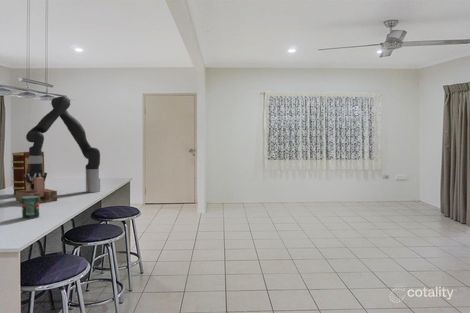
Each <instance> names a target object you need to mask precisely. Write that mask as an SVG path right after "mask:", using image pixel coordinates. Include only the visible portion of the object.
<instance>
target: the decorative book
mask: <svg viewBox="0 0 470 313" xmlns="http://www.w3.org/2000/svg"><path fill="white" fill-rule="evenodd" d="M11 156H12V161H11V162H12V171H13V173H12V174H13V180H12V183H13V187H12V189H13V194H12V197H15V198H16V191H19V190H27V191H29V183H27V181H26V179H25V176H24V174H28V173H29V151H23V152H22V151H21V152H19V151H18V152H11ZM41 156H42V171H43V172H45V153H44V151H42V155H41ZM42 176H43V175H41V177H42ZM29 177H31V176H30V175H29ZM45 182H46V180H45V181H44V189H46V188H45Z"/></svg>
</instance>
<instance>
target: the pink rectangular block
mask: <svg viewBox="0 0 470 313" xmlns="http://www.w3.org/2000/svg"><path fill="white" fill-rule="evenodd" d="M30 178H31V177H29V179H30ZM32 179H33V178H32ZM33 184H34V190H32V189H31V188H30V183H29V191H32V192H37V193H40V197H43V196H44V178H42V177H37V178H34V183H33Z"/></svg>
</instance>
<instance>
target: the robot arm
mask: <svg viewBox="0 0 470 313" xmlns="http://www.w3.org/2000/svg"><path fill="white" fill-rule="evenodd" d="M50 104H51V106H52V109H51V110H50V111H49V112H48V113H47V114H45V115H44V116H43V117H42V118H41V119H40V120H39V122H38V123H37V124H36V125H35V126H34V127H32V128H31V129H30V130H28V132H27V133H26V135H25V139H26V141H27V142H29V143H33V144H32V146H30V147H29V149H28V152H29V173H28V174H24V176H25V179H26V181H27V183H30V188H31V189H32V190H34V184H33V183H34V178H37V177H41V175H43V176H42V178H44V181H45V182H46V178H47V176H48V173H47V172H45V171H44V172H43V171H42V156H41V155H42V152H43V151H42V148H43V145H44V141H45V137H44V136H45V135H44V134H45V133H47V132H48V131H49V130H50V128H51V127H52V125H53V124H54V123H55V122H56V120H58V118H60V119H61V120H62V122H63V123H64V125H65V126H66V128H67V130H68V132H69V133H70V135H71V136H72V137H73V139H74V141H75V142H76V144H77V146H79V148H80V151H81V153H82V155H83V157H84V158H85V159H86V160H87V161H88V162H87V164H86V165H85V192H86V193H97V192H100V191H101V178H100V174H99V173H100V167H99V166H100V165H101V152H100V150H99V149H98V147H92V146H91V145H90V143H89V142H88V140H87V136H86V131H85V129H84V127H83V125H82V124H81V122H80V121H79V120H78V119H76V118H75V117H74V116H73V115H71V114H70V113H69V111H68V109H69V108H70V106H71V100H70V99H69V97H67V96H63V95H62V96H57V97H53V98H51V103H50ZM29 175H30V176H31V178H30V179H29ZM32 178H33V179H32Z"/></svg>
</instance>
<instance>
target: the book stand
mask: <svg viewBox="0 0 470 313" xmlns="http://www.w3.org/2000/svg"><path fill="white" fill-rule="evenodd" d="M33 195H35V196H39V203H40V204H45V203H51V202H57V201H58V190H55V189H49V188H45V189H44V196H43V197H40V193H37V192H32V191H27V190H19V191H16V197H15V201H16V202H18V201H19V203H22V197H24V196H33Z"/></svg>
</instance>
